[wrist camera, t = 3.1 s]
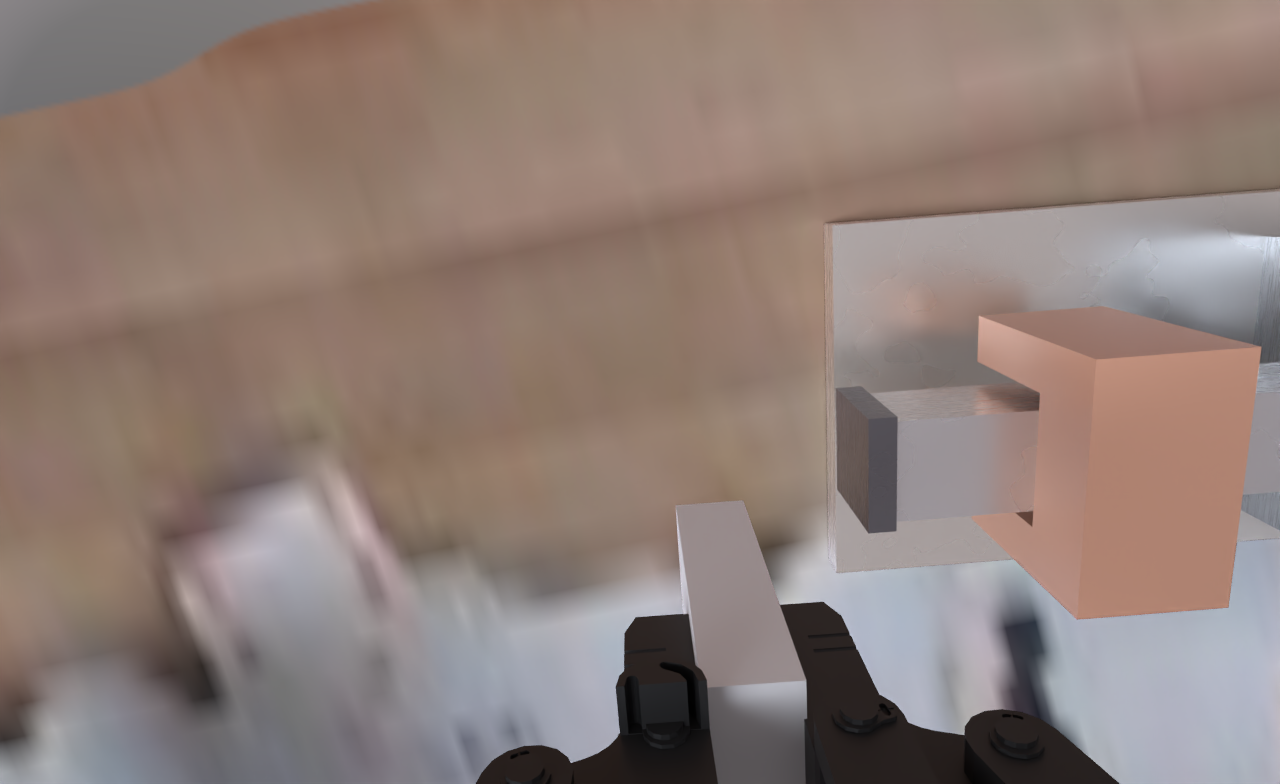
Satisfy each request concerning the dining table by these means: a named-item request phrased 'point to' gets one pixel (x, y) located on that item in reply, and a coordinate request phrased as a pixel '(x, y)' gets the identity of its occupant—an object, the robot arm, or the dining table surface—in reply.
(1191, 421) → the block
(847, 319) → the grey blocky piece
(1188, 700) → the dining table surface
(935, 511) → the shaft
